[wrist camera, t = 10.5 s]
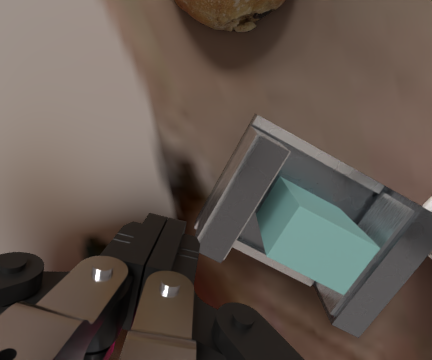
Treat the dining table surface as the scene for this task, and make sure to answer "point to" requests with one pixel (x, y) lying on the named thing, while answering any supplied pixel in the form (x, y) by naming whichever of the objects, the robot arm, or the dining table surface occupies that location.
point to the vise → (361, 215)
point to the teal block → (313, 237)
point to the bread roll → (229, 12)
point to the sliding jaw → (239, 193)
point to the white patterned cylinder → (431, 206)
